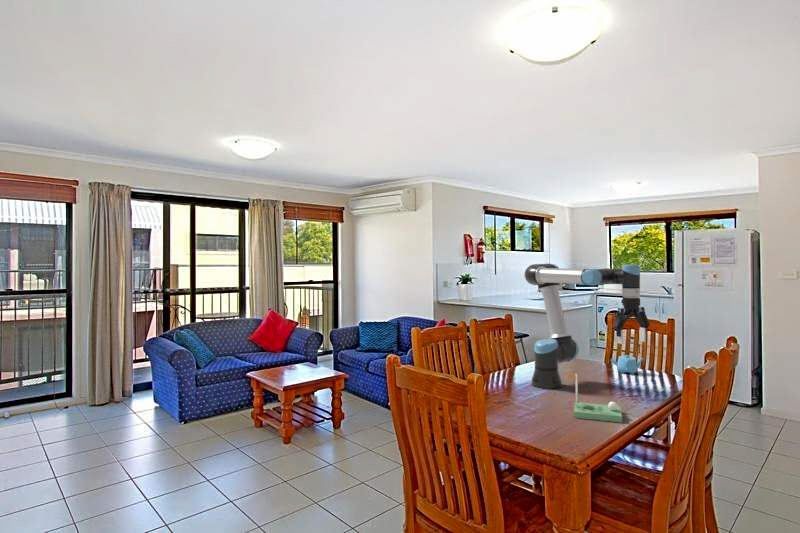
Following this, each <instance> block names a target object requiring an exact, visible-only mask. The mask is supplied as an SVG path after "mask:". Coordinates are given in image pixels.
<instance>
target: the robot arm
mask: <svg viewBox="0 0 800 533" xmlns="http://www.w3.org/2000/svg"><path fill="white" fill-rule="evenodd" d="M524 278H525V280H526V282H527V283H528V284H529V285H532V286H537V289H538V290H539V291H540V292H541V293H542V299H543V303H544V307H545V308H544V309H545V312H546V317H547V322H548V326H549V332H550V336H549V338H545V339H543V338H542V339H539V340H537V341H535V342H534V349H533V350H534V351H533V352H534V371H533V374H532V377H531V386H533V387H535V388H540V389H549V390H550V389H560V388H562V387H563V386H562V385H563V383H562V379H561V376H560V373H559V364H561V363H567V362H570V361H573V360H575V359H576V358H577V356H578V354H579V352H580V351H579V350H580V349H579V344H578V343H577V342H576V341H575V339H573V338H572V337H573V336H572V335H571V334H570V333H569V331H568V329H567V324H566V320H565V315H564V310H563V306H562V301H561V297H560V292H559V289H560V286H561V285H560V284H569V285H570V284H571V285H587V286H599V285H601V286H602V285H621V286H622V287H621V288H622V289H621V291H622V298H621V299H622V300H621V301H622V302H621V303H622V306H623V307H618V309H617V313H616V317H615V319H614V322H613V325H612V328H613V329H614V330H616V337H617V339H616V340H617V341H616V343H617V344H620V345H623V344H624V329H623V328H624V326H625V325H626V322H627V321H628V320H629V319H630V318H634V319H635V320H636V322H637V323H638V325H639V326H640V327H639V342H643V343H646V337H647V336H646V335H647V329H649V327H650V325H651V324H650V322H649V319H648V316H647V313H646V311H645V309H646V308H645V306H644V307H643V306H641V298H640V297H641V270H640V265H639V264H623V265H622V266H621V268H608V267H606V268H605V267H604V268H560V267H559V266H557V265H556V264H553V263H534V264H530V265H529V266H527V268H526V269H525V271H524Z"/></svg>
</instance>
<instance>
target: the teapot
mask: <svg viewBox="0 0 800 533" xmlns="http://www.w3.org/2000/svg"><path fill="white" fill-rule="evenodd" d="M644 359H645V358H644V357H641V358H639V360H638V363H637V359H636V357H635V356H630V355H628V354H625V355H624V356H623V355H622V356H621V355H620V356H618V359H617V361H616V360H615V359H614V358H611V359H610V362H611V363H613V365H616V367H617V371H618V372H620V374H623V375H625V373H629V375H634V374H636V373H637V371H638V369H639V368H640V367H641V365H642V361H643V360H644Z"/></svg>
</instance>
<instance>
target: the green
mask: <svg viewBox="0 0 800 533" xmlns="http://www.w3.org/2000/svg"><path fill="white" fill-rule="evenodd" d="M567 379H573V380H575V402H574V408H573V418H574V419H586V420H594V421H604V422H612V423H613V422H614V423H623V414H622V410H621V406H620V405H618V408H617V409H616V410H615V411H612V410H610V409H609V407H608V404H599V403H589V402H579V398H578V397H579V396H578V395H579V394H578V393H579V391H578V390H579V389H578V386H579V385H578V384H579V383H578V374H577V373H569V372H568V373H567Z"/></svg>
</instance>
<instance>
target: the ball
mask: <svg viewBox="0 0 800 533" xmlns="http://www.w3.org/2000/svg"><path fill="white" fill-rule="evenodd" d="M607 405H608V407H609V409H610V410H612V411H615V410H616V409H617V408H618V406H619V405H618V403H617V402H616V401H610V402H609V403H608V404H607Z"/></svg>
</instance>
